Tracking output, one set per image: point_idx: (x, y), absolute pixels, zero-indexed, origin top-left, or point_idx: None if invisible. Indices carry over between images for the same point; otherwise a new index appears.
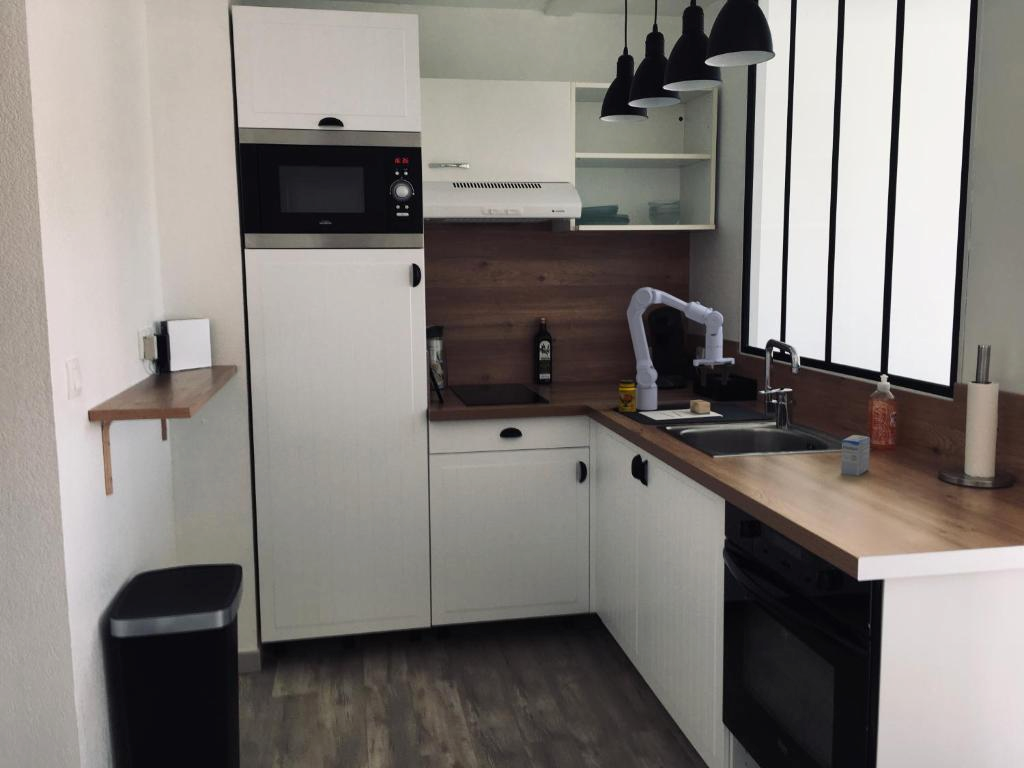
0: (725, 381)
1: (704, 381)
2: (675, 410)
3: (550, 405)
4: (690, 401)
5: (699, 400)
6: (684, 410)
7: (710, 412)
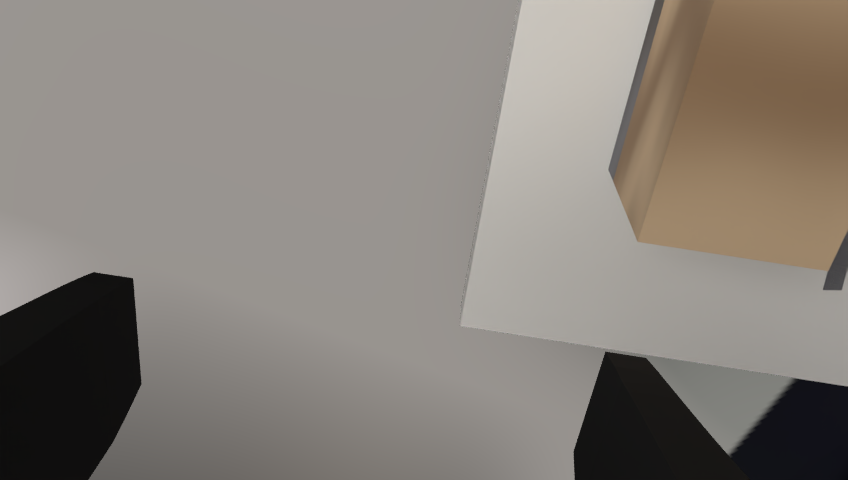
0: (65, 306)
1: (690, 422)
2: (825, 353)
3: None
4: (824, 258)
5: (710, 200)
6: (739, 307)
7: (568, 18)
